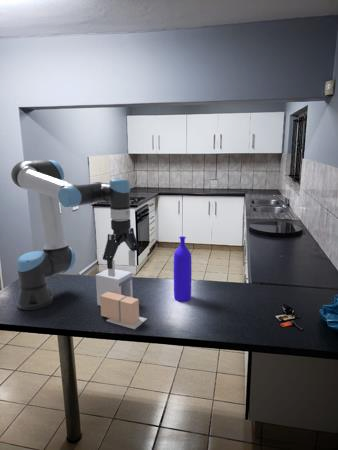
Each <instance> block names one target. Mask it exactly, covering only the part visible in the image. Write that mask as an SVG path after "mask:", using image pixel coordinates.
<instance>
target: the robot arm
mask: <svg viewBox="0 0 338 450" xmlns="http://www.w3.org/2000/svg"><path fill="white" fill-rule="evenodd" d="M10 176H11V180H12V182H13V183H14V184H15V185H16V186H17V187H19V188H21V189H23V190H33V191H34V192H36V194H38V201H39V202H38V203H39V207H40V214H41V220H42V227H43V234H44V240H45V245H43V247H42V248H43V249H42V250H43V251H41V250H35V251H30V252H26V253H24V254H22V255H20V256H18V259H17V261H16V262H17V264H16V266H17V267H16V270H17V275H18V282H19V292H18V293H19V294H18V297H17V302H16V304H17V308H18V309H20V310H22V311H35V310H36V311H37V310H40V309H43V308H45V307H46V308H47V307H48V306H50V305H51V304H52V303H53V301H54V299H53V294H52V292H51V291H50V289H49V286H48V279H49V278H50V277H54V276H57V275H59V274H60V275H61V274H64V273H66V272H68V271H70V270H72V269H73V267H74V266H75V263H76V254H75V252H74V250H73V247H71V246H69V243H67V241H65V235H64V227H63V221H62V214H61V208H60V204H61V205H62V206H63V207H64V208H74V207H75V208H76V207H79V206H84V205H85V206H86V205H90V204H97V203H109V205H110V219H111V220H110V227H111V230H112V232H113V233H112V234H110V233H109V234H107V240H106V245H105V249H104V252H103V255H102V260H104V261H106V265H107V268H106V269H108V276H112V277H115V269H116V267H115V266H116V265H115V262H116V261H115V260H114V258H115V256H116V253H117V250H118V249H119V246H121V244H123V243H125V244H126V246H127V247H128V249H129V250H128V266H130V267H135V266H136V251H138V249H139V243H138V241H137V238H136V235H135V231H134V230H135V229H134V228H133V227H132V226H131V188H130V180H129V179H127V178H111V179H110V180H109V183H108V182H101V181H97V182H96V181H95V182H94V181H93V182H91V183H88V184H87V183H85V184H75V183H71V182H69V181H65V173H64V169H63V168H62V166H61V164H60V163H59V162H58V161H56V160H53V159H37V160H22V161H20V162H17V163H16V164H15V165H14V166H13V167H12V169H11V173H10Z"/></svg>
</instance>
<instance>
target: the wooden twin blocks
mask: <svg viewBox="0 0 338 450" xmlns="http://www.w3.org/2000/svg"><path fill="white" fill-rule="evenodd" d="M139 301H140V300H139V298H135V297H133V298H132V297H128V296H124V295H120V294H116V293H112V292H106V293H104V294H103V295H101V296H100V303H101V306H100V316H101V317H105V318H107V319H109V318H111V319H114V320H118V321H121V322H125V323H128V324H131V325H133V324H134V323H135V322H137V321H138V320H139V317H140V302H139Z"/></svg>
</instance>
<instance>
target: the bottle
mask: <svg viewBox="0 0 338 450" xmlns="http://www.w3.org/2000/svg"><path fill="white" fill-rule="evenodd" d="M186 238H187V237H186V236H179V237H178V239H180V240H179V242H180V243H179V247H177V249H176V250H175V251H174V253H173V296H174V297H173V298H174V300H175V301H177V302H179V303H180V302H181V303H185V302H189V301H190V300H191V299H192V253H191V251H190V249H188V248H187V247H186Z"/></svg>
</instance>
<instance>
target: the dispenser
mask: <svg viewBox="0 0 338 450" xmlns="http://www.w3.org/2000/svg"><path fill="white" fill-rule="evenodd" d="M133 280H134V276H133V272H131V271H126V270H123V269H117V268H115V277H112V276H108V268H106V269H105V270H102V271H101V272H99V273H97V274H95V287H96V302H97V306H100V307H101V303H100V296H101V295H103V294H104V293H106V292H112V293H116V294H120V295H124V296H128V297H132V298H134V296H133V294H134V292H133Z"/></svg>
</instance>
